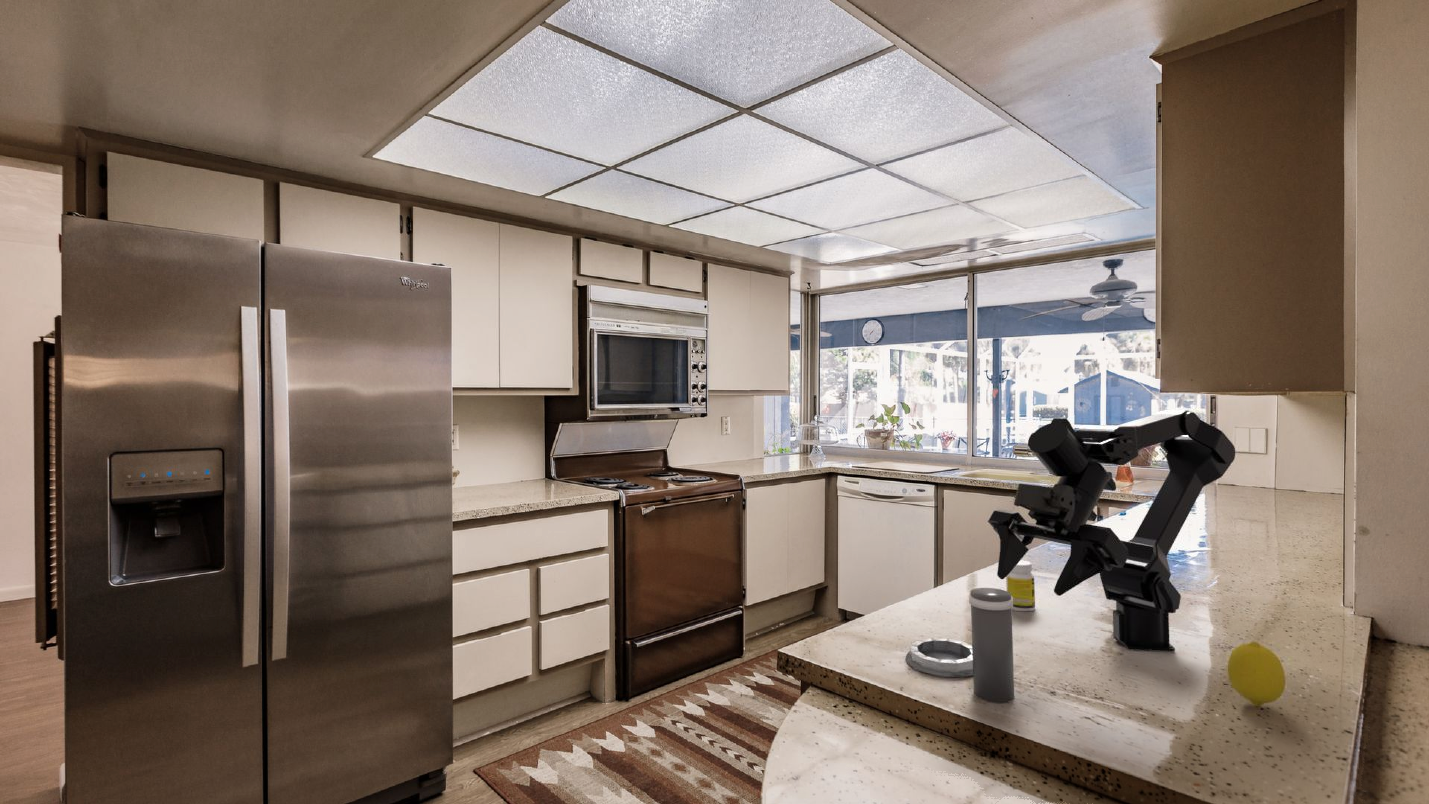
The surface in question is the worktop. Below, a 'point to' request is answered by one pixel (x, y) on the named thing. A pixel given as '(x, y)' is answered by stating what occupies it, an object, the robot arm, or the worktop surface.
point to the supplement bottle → (1021, 586)
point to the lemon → (1256, 673)
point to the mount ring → (941, 657)
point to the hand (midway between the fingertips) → (1026, 585)
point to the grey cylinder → (992, 644)
